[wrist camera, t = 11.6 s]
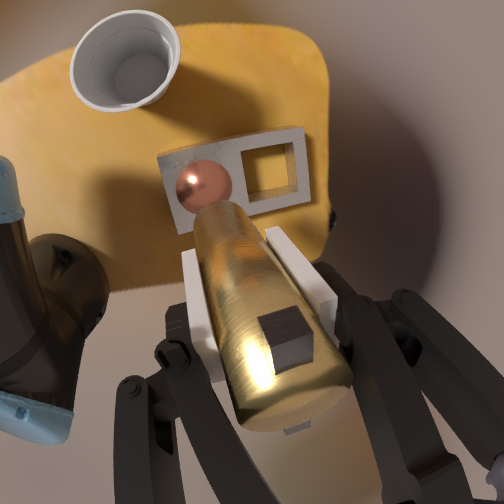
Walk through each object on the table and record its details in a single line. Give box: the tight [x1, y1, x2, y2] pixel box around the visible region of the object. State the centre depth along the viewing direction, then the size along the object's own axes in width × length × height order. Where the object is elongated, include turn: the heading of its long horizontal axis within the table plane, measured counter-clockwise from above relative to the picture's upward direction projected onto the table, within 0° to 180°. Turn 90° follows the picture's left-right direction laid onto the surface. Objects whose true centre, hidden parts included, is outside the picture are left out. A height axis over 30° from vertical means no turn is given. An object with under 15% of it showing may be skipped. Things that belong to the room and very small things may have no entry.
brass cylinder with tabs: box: [193, 200, 354, 435], centre depth 14 cm, size 6×4×14 cm, turn 9°
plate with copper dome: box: [157, 126, 311, 235], centre depth 30 cm, size 16×9×3 cm, turn 99°
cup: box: [70, 10, 181, 113], centre depth 18 cm, size 8×8×12 cm
